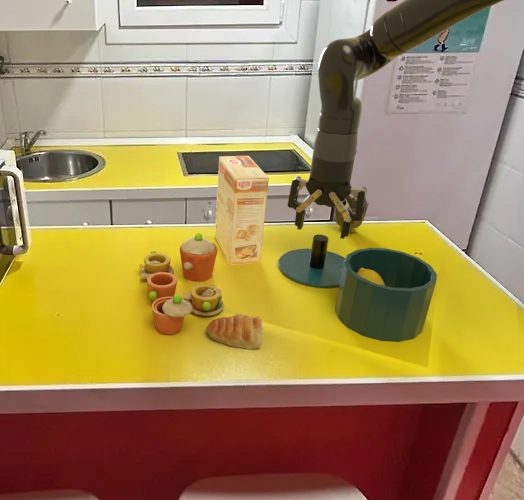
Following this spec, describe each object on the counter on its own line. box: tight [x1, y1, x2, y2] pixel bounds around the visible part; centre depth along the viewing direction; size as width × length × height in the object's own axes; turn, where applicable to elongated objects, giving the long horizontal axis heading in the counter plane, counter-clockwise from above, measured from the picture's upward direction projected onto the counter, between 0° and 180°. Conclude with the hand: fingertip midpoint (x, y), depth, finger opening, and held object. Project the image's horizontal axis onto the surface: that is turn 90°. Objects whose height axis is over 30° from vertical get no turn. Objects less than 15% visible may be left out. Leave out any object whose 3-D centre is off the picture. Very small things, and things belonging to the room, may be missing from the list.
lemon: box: [357, 268, 385, 286], centre depth 93 cm, size 6×6×8 cm
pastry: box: [206, 314, 263, 350], centre depth 87 cm, size 9×7×4 cm
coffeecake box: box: [214, 155, 270, 266], centre depth 111 cm, size 15×7×20 cm, turn 8°
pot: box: [334, 247, 438, 343], centre depth 90 cm, size 15×15×10 cm
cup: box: [334, 195, 369, 235], centre depth 122 cm, size 8×7×8 cm
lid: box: [277, 234, 346, 289], centre depth 106 cm, size 16×16×8 cm
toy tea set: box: [138, 232, 225, 335], centre depth 96 cm, size 26×16×10 cm, turn 7°
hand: (321, 232), depth 104 cm, fingers open, 8 cm apart
